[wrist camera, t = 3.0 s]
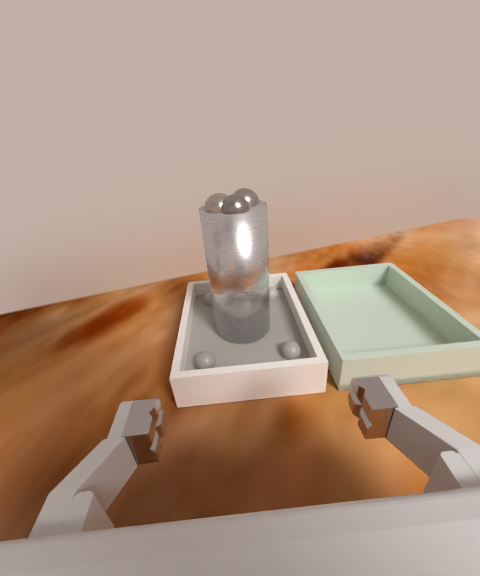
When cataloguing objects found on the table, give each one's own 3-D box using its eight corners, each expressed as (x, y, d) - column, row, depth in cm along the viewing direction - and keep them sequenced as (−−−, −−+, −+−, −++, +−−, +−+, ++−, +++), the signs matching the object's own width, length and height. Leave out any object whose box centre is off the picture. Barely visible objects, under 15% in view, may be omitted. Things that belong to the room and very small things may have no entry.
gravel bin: (177, 407, 21) (169, 378, 19) (192, 304, 33) (188, 282, 31) (325, 392, 21) (328, 362, 19) (286, 295, 33) (286, 272, 32)
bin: (338, 390, 21) (342, 360, 20) (294, 294, 33) (295, 271, 32) (483, 375, 21) (498, 344, 20) (386, 285, 33) (391, 262, 32)
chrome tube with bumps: (216, 346, 24) (194, 202, 18) (216, 313, 28) (199, 188, 22) (274, 341, 24) (272, 195, 18) (265, 308, 28) (261, 182, 22)
